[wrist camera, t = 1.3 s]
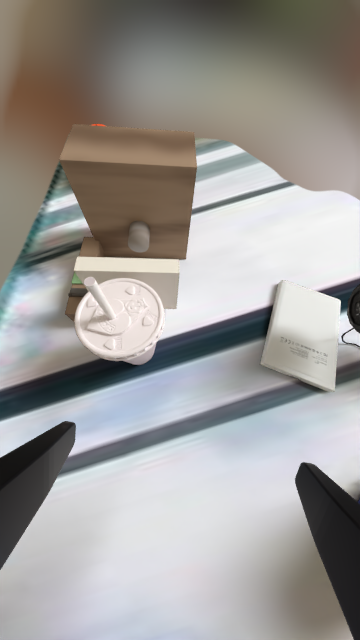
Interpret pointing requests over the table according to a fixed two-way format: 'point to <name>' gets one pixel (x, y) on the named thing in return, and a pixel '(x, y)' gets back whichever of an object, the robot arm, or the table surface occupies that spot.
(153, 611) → the table surface
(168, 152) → the brown blocky piece
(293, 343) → the external hard drive
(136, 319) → the smoothie
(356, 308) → the headphones
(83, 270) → the cream flat box
